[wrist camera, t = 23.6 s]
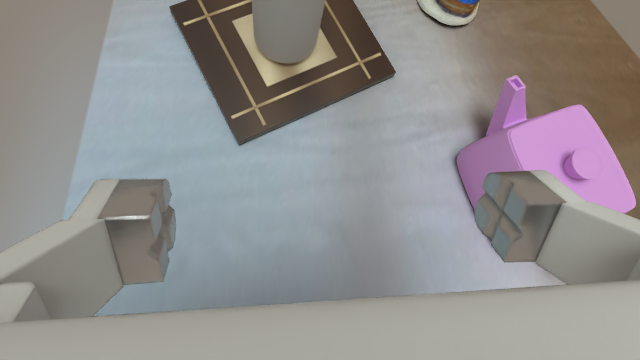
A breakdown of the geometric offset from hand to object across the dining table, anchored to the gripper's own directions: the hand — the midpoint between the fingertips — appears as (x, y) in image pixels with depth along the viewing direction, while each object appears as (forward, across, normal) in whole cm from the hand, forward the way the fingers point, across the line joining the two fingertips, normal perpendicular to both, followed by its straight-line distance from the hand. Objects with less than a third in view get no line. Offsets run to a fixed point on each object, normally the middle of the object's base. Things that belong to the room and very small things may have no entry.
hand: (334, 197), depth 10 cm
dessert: (+39, -20, -1) cm, 44 cm away
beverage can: (+34, -1, +3) cm, 34 cm away
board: (+34, -1, +4) cm, 35 cm away
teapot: (+23, -24, +15) cm, 36 cm away
